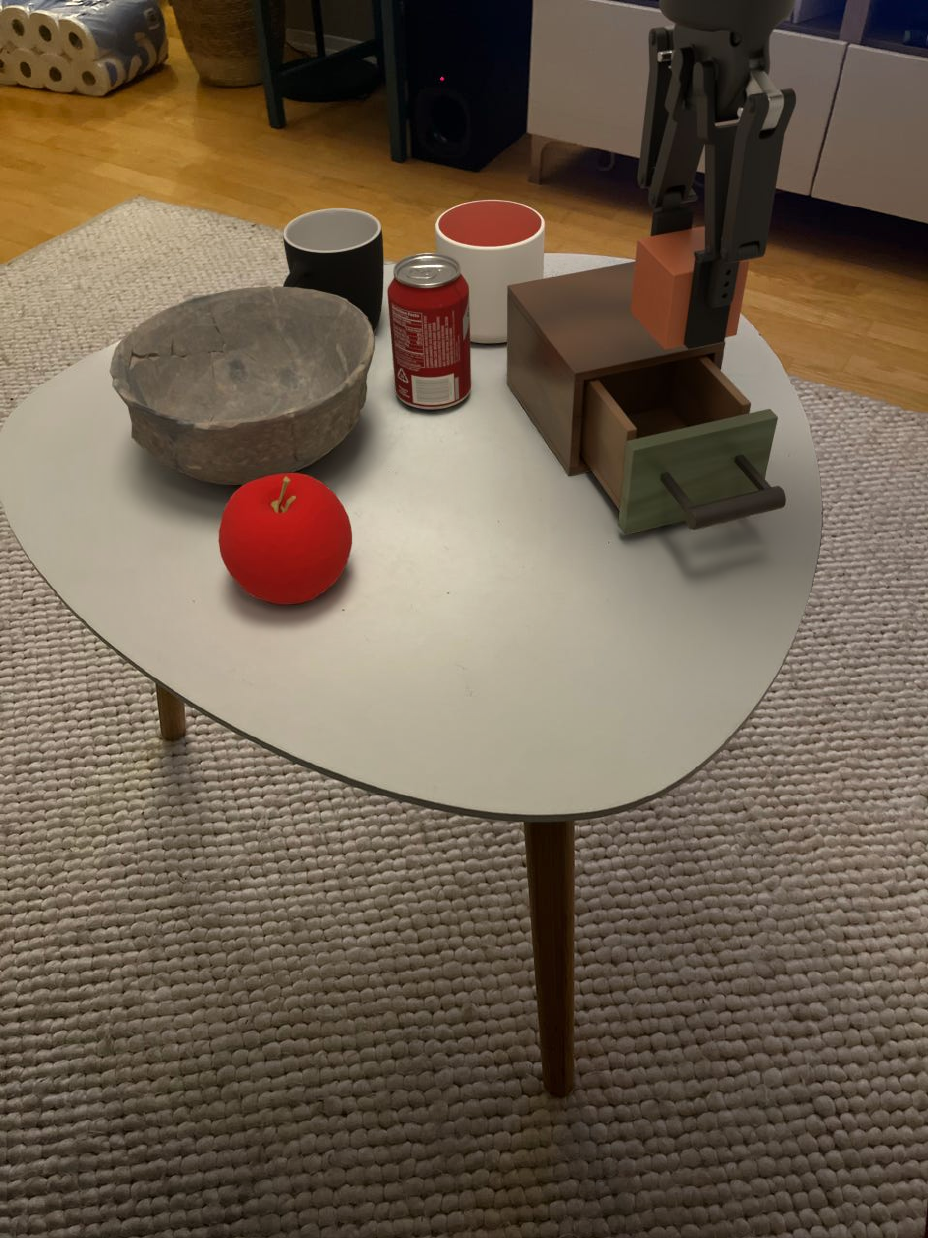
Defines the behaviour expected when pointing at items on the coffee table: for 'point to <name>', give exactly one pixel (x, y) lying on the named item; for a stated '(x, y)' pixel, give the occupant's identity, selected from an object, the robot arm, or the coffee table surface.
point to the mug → (338, 257)
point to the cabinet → (577, 348)
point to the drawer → (678, 446)
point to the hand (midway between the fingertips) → (683, 320)
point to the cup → (492, 257)
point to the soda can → (430, 331)
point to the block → (673, 285)
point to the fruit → (285, 538)
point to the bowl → (245, 381)
